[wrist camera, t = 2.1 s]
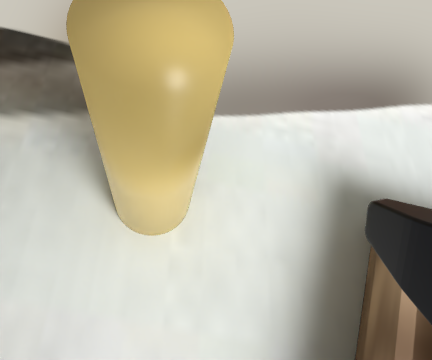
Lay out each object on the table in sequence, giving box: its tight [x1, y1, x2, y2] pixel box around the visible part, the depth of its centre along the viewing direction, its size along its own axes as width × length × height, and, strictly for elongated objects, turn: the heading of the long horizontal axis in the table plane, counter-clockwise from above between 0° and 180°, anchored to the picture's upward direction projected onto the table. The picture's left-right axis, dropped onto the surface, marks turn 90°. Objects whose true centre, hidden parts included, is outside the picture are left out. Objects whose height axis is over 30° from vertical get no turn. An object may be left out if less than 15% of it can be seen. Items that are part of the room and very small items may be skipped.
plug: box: [66, 0, 234, 235], centre depth 15 cm, size 4×4×13 cm
